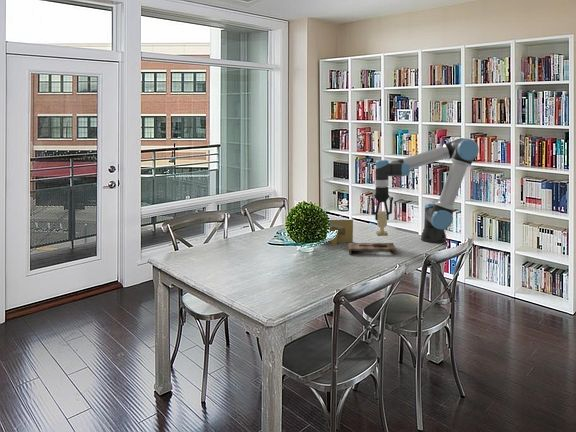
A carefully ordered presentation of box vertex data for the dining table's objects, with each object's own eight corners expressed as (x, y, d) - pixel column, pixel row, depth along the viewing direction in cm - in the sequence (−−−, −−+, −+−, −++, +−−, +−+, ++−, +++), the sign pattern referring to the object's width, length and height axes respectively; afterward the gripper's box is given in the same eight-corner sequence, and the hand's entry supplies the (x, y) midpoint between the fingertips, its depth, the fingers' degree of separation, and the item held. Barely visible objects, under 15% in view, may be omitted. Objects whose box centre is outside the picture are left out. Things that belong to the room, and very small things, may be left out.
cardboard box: (352, 241, 313) (352, 218, 309) (353, 246, 304) (353, 223, 300) (315, 241, 315) (315, 218, 311) (314, 246, 307) (314, 223, 302)
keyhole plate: (392, 248, 294) (392, 242, 293) (395, 254, 281) (396, 248, 281) (348, 248, 296) (348, 243, 295) (349, 254, 283) (349, 248, 283)
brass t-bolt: (386, 233, 303) (386, 210, 301) (387, 235, 297) (387, 212, 295) (376, 233, 304) (376, 210, 301) (377, 235, 298) (377, 212, 295)
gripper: (367, 187, 292) (368, 227, 296) (397, 187, 291) (397, 226, 295) (366, 186, 299) (366, 224, 304) (395, 185, 298) (395, 223, 303)
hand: (381, 225), depth 300 cm, fingers closed on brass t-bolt, 4 cm apart
